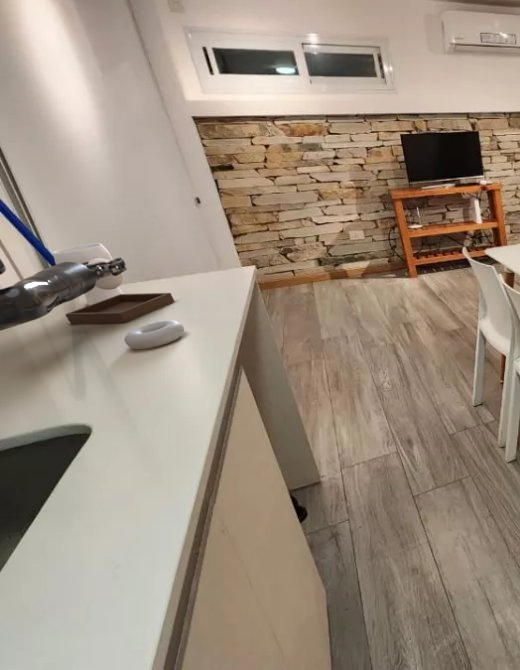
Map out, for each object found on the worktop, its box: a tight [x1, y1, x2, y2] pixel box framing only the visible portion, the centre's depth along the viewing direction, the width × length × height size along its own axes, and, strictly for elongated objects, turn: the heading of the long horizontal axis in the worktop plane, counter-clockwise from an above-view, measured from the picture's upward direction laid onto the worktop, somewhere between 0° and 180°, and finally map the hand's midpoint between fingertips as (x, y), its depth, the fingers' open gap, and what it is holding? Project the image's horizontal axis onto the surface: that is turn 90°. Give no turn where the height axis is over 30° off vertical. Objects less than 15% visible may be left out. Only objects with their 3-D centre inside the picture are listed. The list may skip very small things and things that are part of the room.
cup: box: [52, 242, 124, 306], centre depth 129 cm, size 11×11×15 cm
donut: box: [124, 319, 185, 350], centre depth 103 cm, size 10×3×10 cm
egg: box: [88, 258, 124, 290], centre depth 118 cm, size 6×6×8 cm
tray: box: [64, 292, 176, 325], centre depth 122 cm, size 16×14×3 cm
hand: (105, 263), depth 119 cm, fingers closed on egg, 6 cm apart
